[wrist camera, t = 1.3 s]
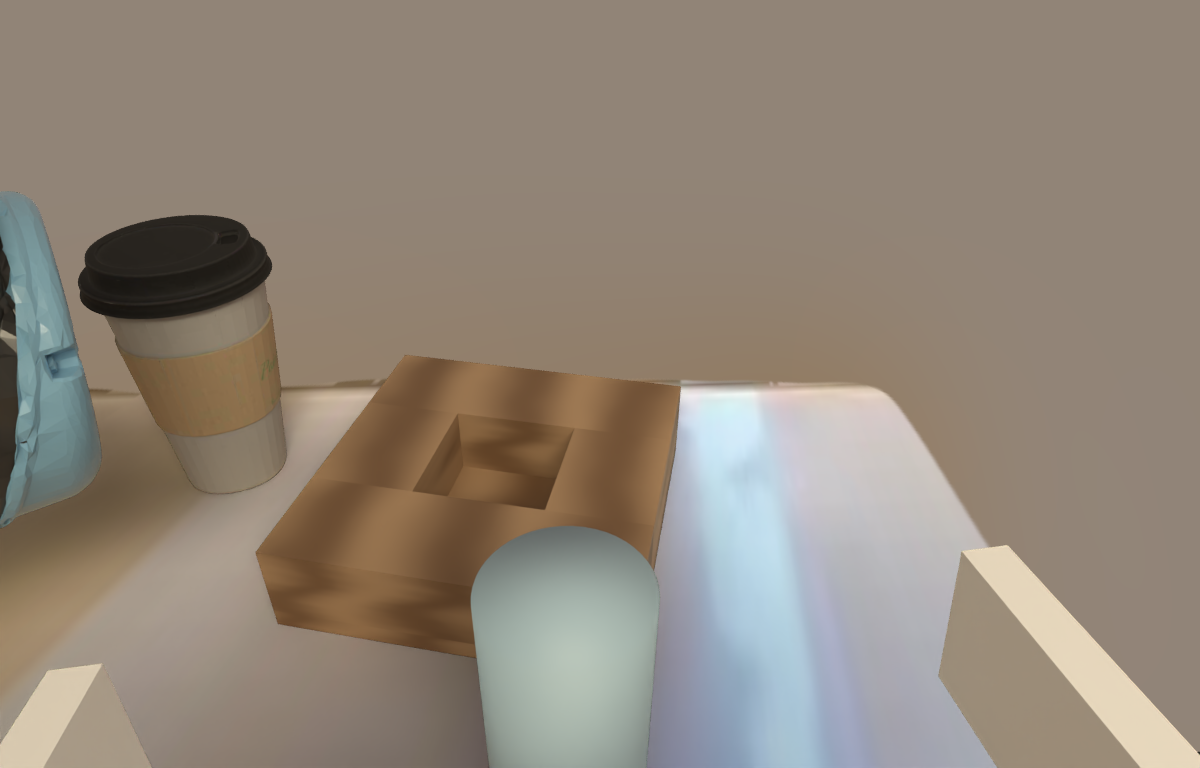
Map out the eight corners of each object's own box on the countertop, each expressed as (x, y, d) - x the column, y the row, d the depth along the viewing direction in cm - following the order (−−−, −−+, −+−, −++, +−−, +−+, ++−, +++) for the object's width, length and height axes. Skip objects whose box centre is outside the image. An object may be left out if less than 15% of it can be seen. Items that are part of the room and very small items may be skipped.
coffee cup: (343, 464, 50) (296, 243, 42) (193, 539, 45) (104, 301, 36) (272, 403, 56) (218, 197, 48) (130, 463, 50) (41, 241, 42)
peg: (486, 943, 28) (442, 653, 19) (523, 806, 32) (502, 515, 24) (625, 975, 28) (645, 688, 19) (645, 831, 32) (670, 539, 23)
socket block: (277, 623, 40) (255, 552, 37) (414, 416, 55) (405, 354, 52) (633, 685, 37) (637, 612, 34) (675, 450, 52) (680, 386, 49)
